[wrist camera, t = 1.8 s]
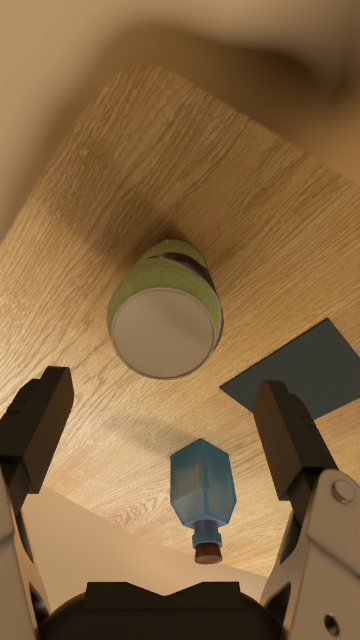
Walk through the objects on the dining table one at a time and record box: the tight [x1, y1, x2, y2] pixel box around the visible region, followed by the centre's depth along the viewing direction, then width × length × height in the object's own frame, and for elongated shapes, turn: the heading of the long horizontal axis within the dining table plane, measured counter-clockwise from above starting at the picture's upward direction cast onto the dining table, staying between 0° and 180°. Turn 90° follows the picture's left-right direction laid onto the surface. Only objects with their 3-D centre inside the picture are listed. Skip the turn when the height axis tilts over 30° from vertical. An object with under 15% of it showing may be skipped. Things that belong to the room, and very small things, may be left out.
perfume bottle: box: [170, 439, 237, 564], centre depth 34 cm, size 6×6×12 cm
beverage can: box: [107, 239, 224, 380], centre depth 17 cm, size 6×7×12 cm
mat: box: [219, 318, 360, 420], centre depth 31 cm, size 14×14×1 cm
